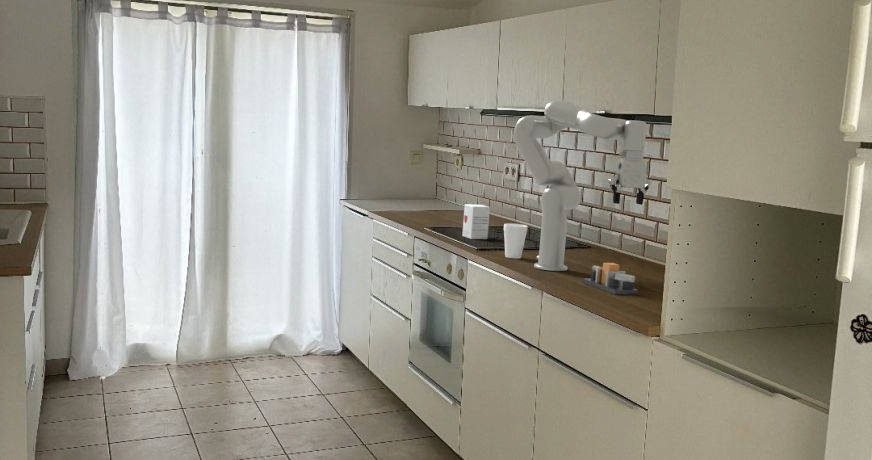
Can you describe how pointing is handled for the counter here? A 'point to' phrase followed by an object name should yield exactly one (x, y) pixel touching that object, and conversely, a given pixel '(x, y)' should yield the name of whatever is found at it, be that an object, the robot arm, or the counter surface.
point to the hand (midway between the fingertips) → (627, 203)
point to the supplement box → (476, 221)
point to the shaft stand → (612, 281)
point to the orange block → (608, 268)
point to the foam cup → (514, 239)
